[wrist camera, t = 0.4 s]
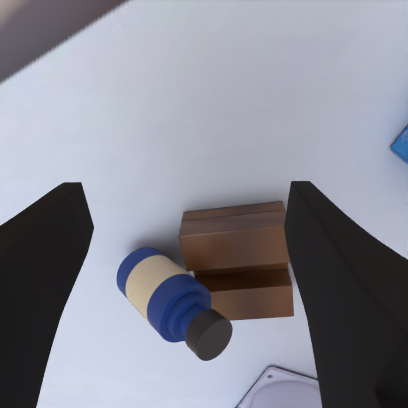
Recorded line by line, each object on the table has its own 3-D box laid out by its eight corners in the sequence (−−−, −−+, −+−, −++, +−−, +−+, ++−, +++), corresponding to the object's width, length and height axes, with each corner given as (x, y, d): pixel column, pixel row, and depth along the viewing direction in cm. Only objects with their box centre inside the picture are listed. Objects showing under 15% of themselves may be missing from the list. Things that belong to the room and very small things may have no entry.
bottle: (133, 281, 28) (98, 382, 20) (120, 241, 26) (75, 336, 18) (234, 272, 27) (237, 376, 19) (227, 230, 25) (227, 326, 17)
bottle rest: (201, 293, 28) (199, 322, 25) (183, 211, 24) (177, 236, 22) (287, 287, 27) (293, 316, 25) (282, 200, 23) (289, 224, 21)
